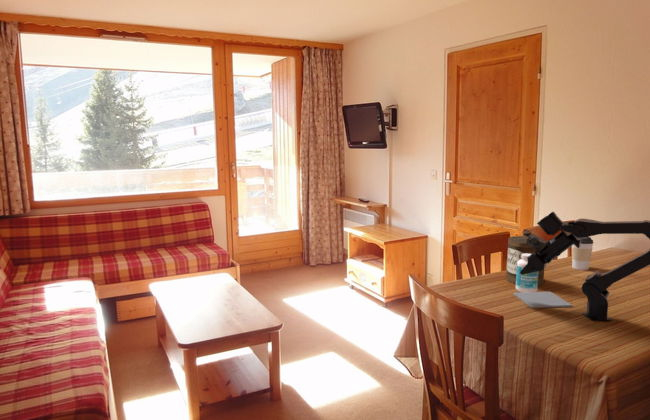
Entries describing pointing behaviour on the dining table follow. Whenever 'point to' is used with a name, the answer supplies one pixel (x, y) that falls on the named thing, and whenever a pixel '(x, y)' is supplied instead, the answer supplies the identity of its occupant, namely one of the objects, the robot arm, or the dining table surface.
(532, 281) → the pill bottle
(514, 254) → the labeled lidded canister
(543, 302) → the slate mat
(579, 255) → the coffee cup
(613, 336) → the dining table surface
